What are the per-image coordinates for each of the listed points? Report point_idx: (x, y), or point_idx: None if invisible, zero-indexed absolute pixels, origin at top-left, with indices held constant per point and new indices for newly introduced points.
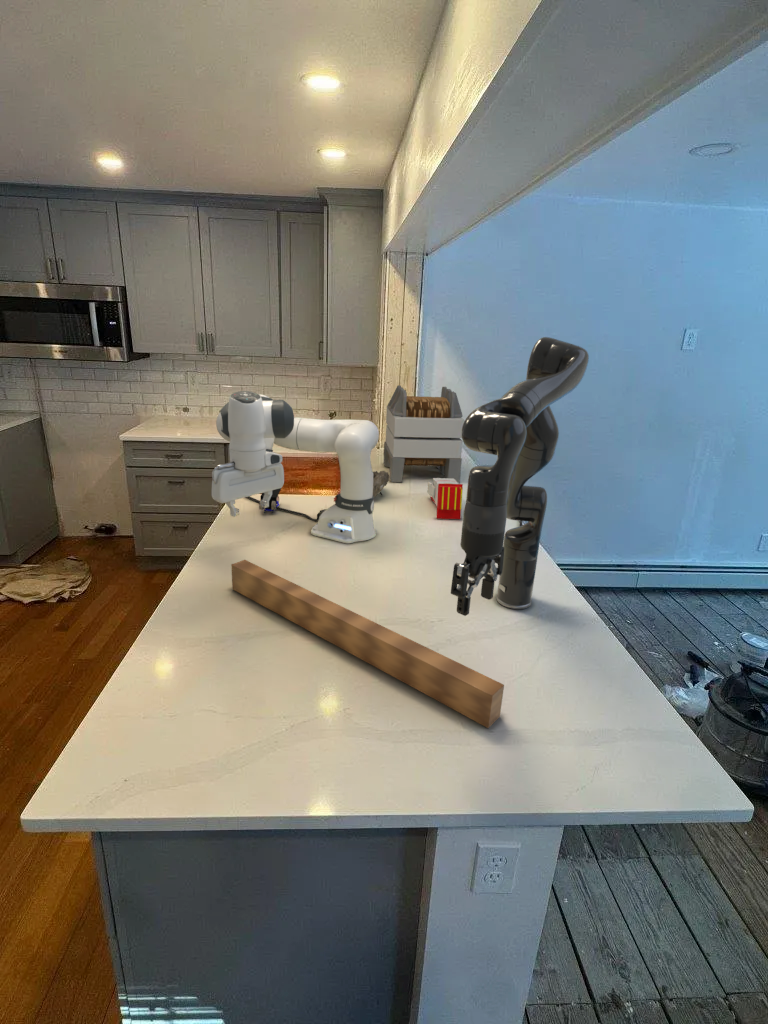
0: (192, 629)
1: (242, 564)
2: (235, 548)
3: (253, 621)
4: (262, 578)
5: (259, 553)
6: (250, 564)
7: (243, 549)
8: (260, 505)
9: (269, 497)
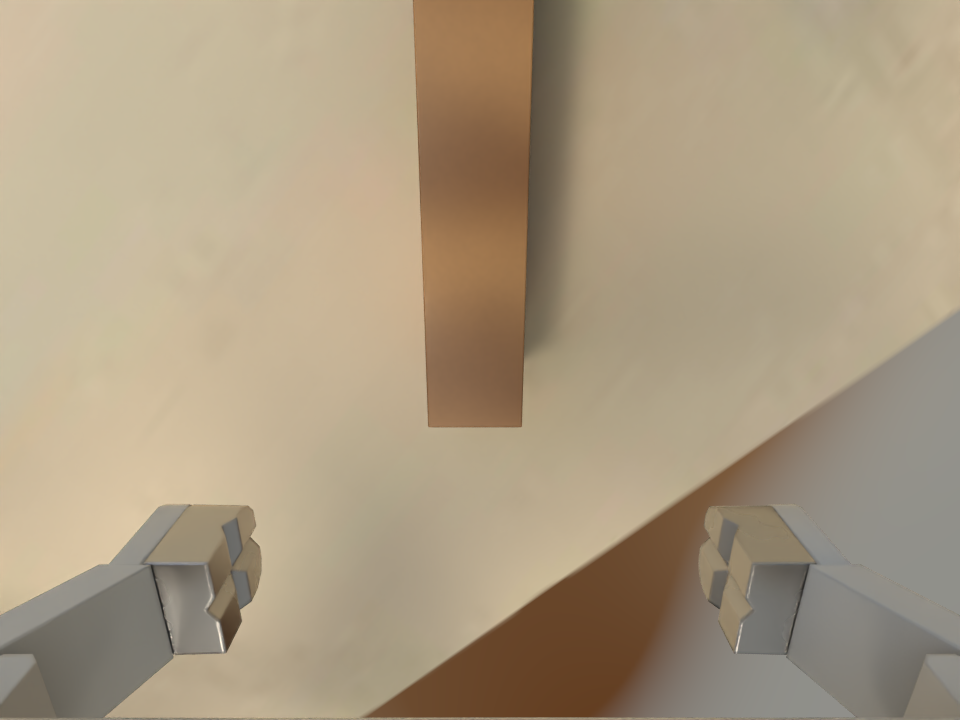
0: (860, 199)
1: (478, 387)
2: (272, 648)
3: (648, 44)
4: (514, 154)
5: None
6: (445, 357)
7: (250, 623)
8: (257, 587)
9: (54, 605)
